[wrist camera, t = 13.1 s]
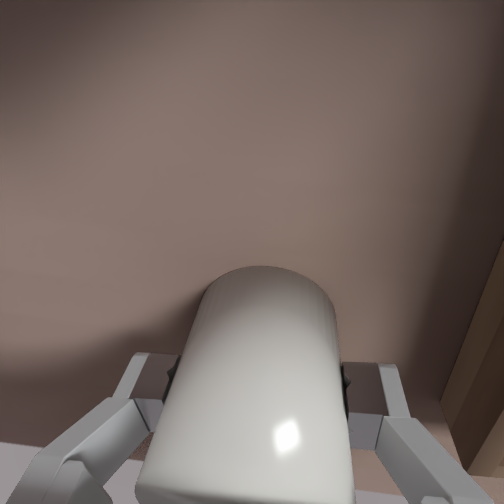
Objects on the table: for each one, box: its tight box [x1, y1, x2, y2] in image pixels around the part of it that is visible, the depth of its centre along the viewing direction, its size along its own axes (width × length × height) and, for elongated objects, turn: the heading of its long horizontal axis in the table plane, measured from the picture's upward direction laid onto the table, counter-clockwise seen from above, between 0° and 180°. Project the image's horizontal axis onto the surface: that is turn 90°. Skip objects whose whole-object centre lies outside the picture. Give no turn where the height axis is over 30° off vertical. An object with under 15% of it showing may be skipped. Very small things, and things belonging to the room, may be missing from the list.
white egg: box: [135, 266, 356, 504], centre depth 10 cm, size 5×5×6 cm
